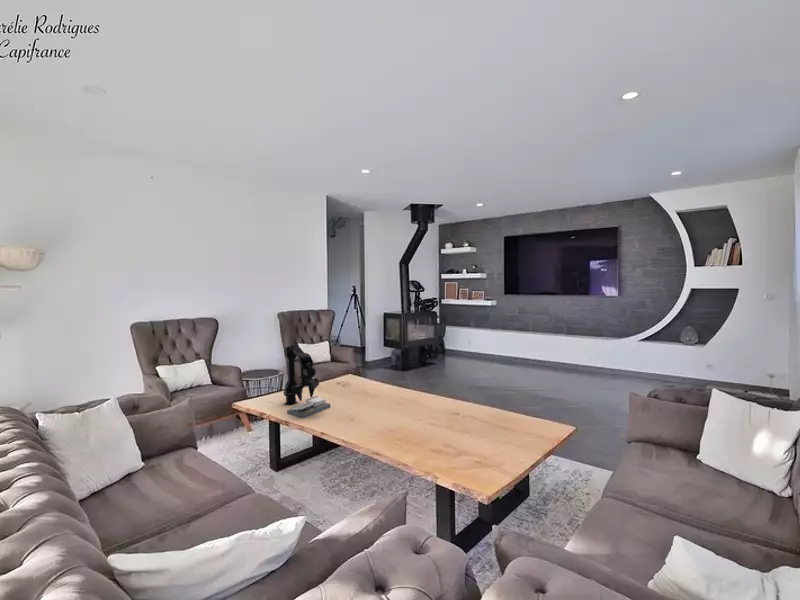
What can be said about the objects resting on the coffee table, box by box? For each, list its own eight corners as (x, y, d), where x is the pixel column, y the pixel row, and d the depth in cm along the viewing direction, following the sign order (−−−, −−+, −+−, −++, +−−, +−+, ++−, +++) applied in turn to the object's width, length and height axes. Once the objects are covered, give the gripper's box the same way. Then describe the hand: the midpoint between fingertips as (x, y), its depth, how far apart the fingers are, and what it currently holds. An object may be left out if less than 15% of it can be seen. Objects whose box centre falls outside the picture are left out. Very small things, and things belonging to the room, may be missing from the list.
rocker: (305, 401, 267) (305, 399, 267) (315, 398, 275) (316, 395, 275) (314, 406, 262) (315, 404, 262) (325, 402, 271) (325, 400, 271)
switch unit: (287, 414, 258) (286, 408, 258) (314, 404, 278) (313, 399, 278) (304, 418, 250) (303, 412, 250) (330, 407, 270) (330, 402, 270)
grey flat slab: (291, 410, 257) (291, 407, 257) (303, 405, 265) (302, 403, 265) (301, 409, 252) (301, 406, 252) (313, 404, 260) (312, 402, 261)
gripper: (303, 378, 244) (304, 404, 245) (324, 372, 260) (325, 396, 261) (290, 377, 250) (291, 402, 251) (312, 371, 266) (313, 394, 267)
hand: (306, 399), depth 257 cm, fingers open, 9 cm apart
